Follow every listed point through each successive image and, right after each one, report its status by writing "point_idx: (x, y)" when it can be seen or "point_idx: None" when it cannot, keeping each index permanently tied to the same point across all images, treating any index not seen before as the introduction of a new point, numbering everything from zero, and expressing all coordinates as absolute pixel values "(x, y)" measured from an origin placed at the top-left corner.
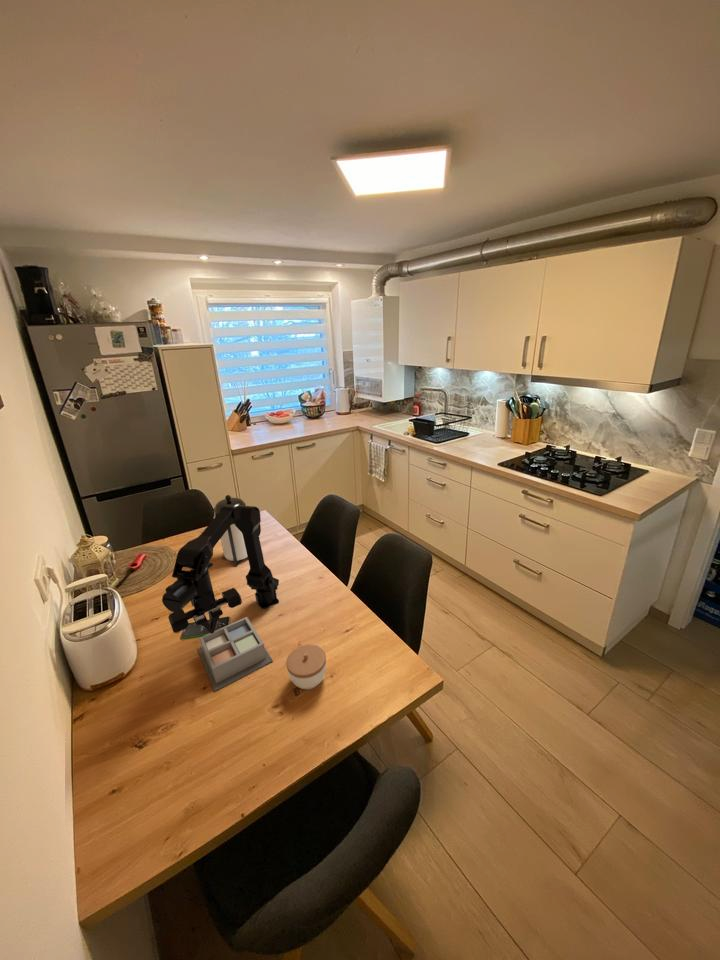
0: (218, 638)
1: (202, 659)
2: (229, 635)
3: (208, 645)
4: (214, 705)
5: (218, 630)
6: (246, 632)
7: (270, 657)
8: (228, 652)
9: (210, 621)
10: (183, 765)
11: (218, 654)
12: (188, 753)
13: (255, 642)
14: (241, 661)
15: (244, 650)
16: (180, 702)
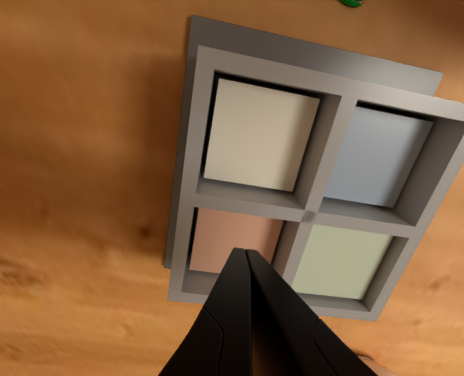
0: (284, 105)
1: (183, 107)
2: (327, 179)
3: (222, 115)
4: (148, 298)
5: (315, 83)
6: (392, 177)
7: None
8: (265, 227)
9: (270, 368)
10: (46, 369)
11: None
12: (60, 356)
13: (365, 279)
14: None
15: (310, 284)
16: (64, 229)
